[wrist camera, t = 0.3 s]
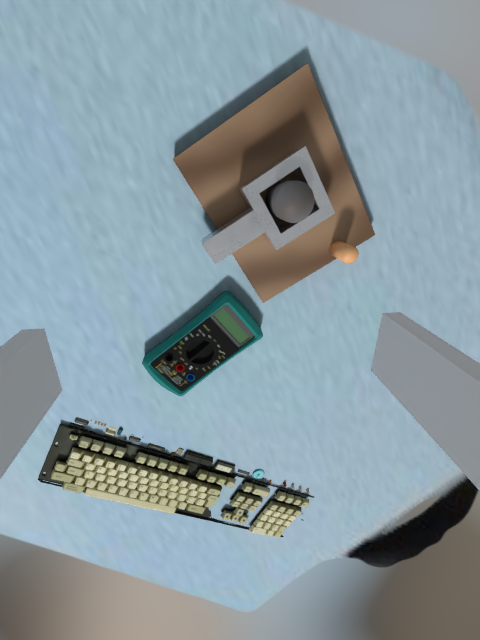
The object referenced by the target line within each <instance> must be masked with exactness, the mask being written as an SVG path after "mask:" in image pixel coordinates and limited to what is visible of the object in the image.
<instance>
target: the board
mask: <svg viewBox="0 0 480 640" xmlns="http://www.w3.org/2000/svg"><path fill="white" fill-rule="evenodd" d="M304 146H306V148H307V150H308V153H309V155H310V157H311V159H312V162H313V164H314V166H315V168H316V171H317V173H318V175H319V178H320V180H321V182H322V184H323V187H324V189H325V191H326V193H327V196H328V198H329V200H330V203H331V205H332V207H333V209H334V212H335V214H333V215H332V216H330V217H329V218H327V219H325V220H324V221H322V222H321V223H319V224H317V225H316V226H314V227H313V228H311V229H310V230H308V231H306V232H305V233H303V234H302V235H300V236H298V237H297V238H295V239H294V240H292V241H290V242H289V243H287V244H286V245H284V246H283V247H281V248H279V249H278V250H275V249H274V248H273V247H272V246H271V245H270V244H269V242H268V240H267V238H266V236H265V235H264V233H263V234H261V235H260V236H258V237H257V238H255V239H254V240H252V241H251V242H249V243H247V244H246V245H244V246H243V247H241V248H240V249H238V250H237V251H235V252H233V253H232V254H233V256H234V257H235V259H236V261H237V262H238V264H239V265H240V267H241V269H242V270H243V272H244V273H245V275H246V277H247V278H248V280H249V281H250V283H251V284H252V286H253V288H254V289H255V291H256V292H257V294H258V296H259V297H260V299H261V300H262V302H263V303H264V302H265V301H267V300H269V299H270V298H272V297H274V296H275V295H277V294H279V293H280V292H282V291H284V290H285V289H287V288H288V287H290V286H292V285H293V284H295V283H297V282H298V281H300V280H302V279H303V278H305V277H307V276H308V275H310V274H312V273H313V272H315V271H316V270H318V269H320V268H321V267H323V266H325V265H326V264H328V263H330V262H331V261H333V260H335V259H336V257H334V256H332V255H331V254H330V251H329V248H330V246H331V244H332V243H333V242H335V241H341V242H344V243H346V244H349V245H351V246H353V247H356V246H358V245H359V244H361V243H363V242H364V241H366V240H367V239H369V238H371V237H372V236H374V235H375V233H374V230H373V228H372V225H371V223H370V220H369V218H368V215H367V213H366V210H365V207H364V205H363V202H362V200H361V197H360V195H359V192H358V190H357V187H356V185H355V182H354V179H353V177H352V174H351V172H350V169H349V167H348V164H347V162H346V159H345V157H344V154H343V151H342V149H341V146H340V144H339V141H338V139H337V136H336V134H335V131H334V129H333V126H332V123H331V121H330V118H329V116H328V113H327V111H326V108H325V106H324V103H323V101H322V98H321V95H320V93H319V90H318V88H317V85H316V83H315V80H314V78H313V75H312V73H311V70H310V67H309V65H308V63H307V64H306V65H304V66H303V67H302V68H300V69H299V70H297V71H296V72H295V73H293V74H292V75H290V76H289V77H288V78H286V79H285V80H283V81H282V82H280V83H279V84H278V85H276V86H275V87H273V88H272V89H271V90H269V91H268V92H266V93H265V94H264V95H262V96H261V97H259V98H258V99H257V100H255V101H254V102H252V103H251V104H250V105H248V106H247V107H245V108H244V109H242V110H241V111H240V112H238V113H237V114H235V115H234V116H233V117H231V118H230V119H228V120H227V121H226V122H224V123H223V124H221V125H220V126H219V127H217V128H216V129H214V130H213V131H212V132H210V133H209V134H207V135H206V136H205V137H203V138H202V139H200V140H199V141H197V142H196V143H195V144H193V145H192V146H190V147H189V148H188V149H186V150H185V151H183V152H182V153H181V154H179V155H178V156H176V157H175V158H174V159H173V160H174V162H175V163H176V165H177V167H178V168H179V170H180V171H181V173H182V175H183V176H184V178H185V179H186V181H187V182H188V184H189V186H190V187H191V189H192V190H193V192H194V194H195V195H196V197H197V198H198V200H199V202H200V203H201V205H202V206H203V208H204V210H205V211H206V213H207V214H208V216H209V218H210V219H211V221H212V222H213V224H214V226H215V227H216V229H218V228H220V227H221V226H223V225H224V224H226V223H227V222H229V221H230V220H232V219H233V218H235V217H236V216H238V215H239V214H241V213H242V212H244V211H246V210H247V209H249V206H248V204H247V203H246V201H245V199H244V197H243V195H242V194H241V192H240V190H239V188H240V187H242V186H243V185H245V184H246V183H248V182H249V181H250V180H252V179H253V178H255V177H256V176H258V175H259V174H261V173H262V172H264V171H265V170H267V169H268V168H270V167H271V166H273V165H274V164H276V163H277V162H279V161H280V160H282V159H283V158H285V157H286V156H288V155H289V154H291V153H292V152H294V151H295V150H297V149H299V148H302V147H304ZM259 194H260V196H261V198H262V199H263V201H264V203H265V205H266V207H267V209H268V211H269V213H270V214H271V216H272V218H273V220H274V222H275V224H276V226H277V227H280V226H281V225H283V224H284V223H286V222H289V223H298V222H301V221H303V220H304V219H306V218H307V217H308V216H309V215H310V213H311V211H312V209H313V206H314V194H313V191H312V189H311V188H310V187H309V186H308V185H307V184H306V183H304V182H302V181H297V179H296V177H295V175H294V172H293V171H292V172H291V173H289V174H288V175H286V176H285V177H283V178H282V179H280V180H279V181H277V182H276V183H274V184H273V185H271V186H270V187H268V188H267V189H265V190H264V191H262V192H261V193H259Z"/></svg>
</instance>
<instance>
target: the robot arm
mask: <svg viewBox="0 0 480 640" xmlns="http://www.w3.org/2000/svg"><path fill="white" fill-rule="evenodd" d="M371 371H372V372H373V373H374V374H375V375H376V376H377V377H378V379H379V380H380V381H381V382H382V383H383V384H384V385H385V386H386V387H387V388H388V390H389V391H390V392H391V393H392V394H393V395H394V396H395V397H396V398H397V400H398V401H399V402H400V403H401V404H402V405H403V406H404V407H405V408H406V410H407V411H408V412H409V413H410V414H411V415H412V416H413V417H414V418H415V420H416V421H417V422H418V423H419V424H420V425H421V426H422V427H423V428H424V429H425V431H426V432H427V433H428V434H429V435H430V436H431V437H432V438H433V439H434V441H435V442H436V443H437V444H438V445H439V446H440V447H441V448H442V449H443V451H444V452H445V453H446V454H447V455H448V456H449V457H450V458H451V459H452V460H453V462H454V463H455V464H456V465H457V466H458V467H459V468H460V469H461V470H462V472H463V473H464V474H465V475H466V476H467V477H468V478H469V479H470V480H471V482H472V483H473V484H474V485H475V486H476V487H477V488H478V489H479V490H480V364H479V363H478V362H476V361H475V360H473V359H472V358H470V357H468V356H467V355H465V354H464V353H462V352H461V351H459V350H458V349H456V348H454V347H453V346H451V345H450V344H448V343H447V342H445V341H444V340H442V339H441V338H439V337H437V336H436V335H434V334H433V333H431V332H430V331H428V330H427V329H425V328H424V327H422V326H420V325H419V324H417V323H416V322H414V321H413V320H411V319H410V318H408V317H407V316H405V315H403V314H402V313H400V312H397V313H382V318H381V323H380V328H379V333H378V338H377V343H376V348H375V353H374V358H373V362H372V367H371ZM61 391H62V387H61V384H60V381H59V377H58V374H57V370H56V367H55V364H54V360H53V357H52V353H51V350H50V347H49V343H48V340H47V336H46V333H45V330H44V329H28V330H21V331H20V332H19V333H17V334H16V335H15V336H14V337H12V338H11V339H10V340H9V341H7V342H6V343H5V344H3V345H2V346H1V347H0V479H1V477H2V476H3V475H4V473H5V472H6V470H7V469H8V467H9V466H10V464H11V463H12V462H13V460H14V459H15V457H16V456H17V454H18V453H19V452H20V450H21V449H22V447H23V446H24V444H25V443H26V442H27V440H28V439H29V437H30V436H31V434H32V433H33V431H34V430H35V429H36V427H37V426H38V424H39V423H40V421H41V420H42V419H43V417H44V416H45V414H46V413H47V411H48V410H49V409H50V407H51V406H52V404H53V403H54V401H55V400H56V398H57V397H58V396H59V394H60V393H61Z"/></svg>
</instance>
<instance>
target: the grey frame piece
mask: <svg viewBox="0 0 480 640" xmlns="http://www.w3.org/2000/svg"><path fill="white" fill-rule="evenodd" d="M292 171H293V172H294V175H295V177H296V179H297V181H302V182H304V183H306V184H307V185H308V186H309V187H310V188H311V189H312V191H313V194H314V206H313V209H312V211H311V213H310V215H309V216H308V217H307V218H306V219H304V220H303V221H301V222H298V223H289V222H286V223H284V224H283V225H281V226H280V227H277V226H276V224H275V222H274V220H273V218H272V216H271V214H270V213H269V211H268V209H267V207H266V205H265V203H264V201H263V199H262V198H261V196H260V194H259V193H261V192H262V191H264V190H265V189H267V188H268V187H270V186H271V185H273V184H274V183H276V182H277V181H279V180H280V179H282V178H283V177H285V176H286V175H288V174H289V173H291V172H292ZM239 190H240V192H241V194H242V195H243V197H244V199H245V201H246V203H247V204H248V206H249V209H247V210H246V211H244V212H242V213H241V214H239V215H238V216H236V217H235V218H233V219H232V220H230V221H229V222H227V223H226V224H224V225H223V226H221V227H220V228H218V229H217V230H215V231H214V232H212V233H211V234H209V235H208V236H206V237H205V238H203V239H202V245H203V246H204V248H205V249H206V251H207V252H208V254H209V255H210V257H211V258H212V260H213V261H214V263H215V264H216V263H218V262H219V261H221V260H223V259H224V258H226V257H227V256H229V255H230V254H232V253H233V252H235V251H237V250H238V249H240V248H241V247H243V246H244V245H246V244H247V243H249V242H251V241H252V240H254V239H255V238H257V237H258V236H260V235H261V234H263V233H264V235H265V236H266V238H267V240H268V242H269V244H270V245H271V246H272V247H273V248H274V249H275V250H278V249H279V248H281V247H283V246H284V245H286V244H287V243H289V242H290V241H292V240H294V239H295V238H297V237H298V236H300V235H302V234H303V233H305V232H306V231H308V230H310V229H311V228H313V227H314V226H316V225H317V224H319V223H321V222H322V221H324V220H325V219H327V218H329V217H330V216H332V215H333V214H335V212H334V209H333V207H332V205H331V203H330V200H329V198H328V196H327V193H326V191H325V189H324V187H323V184H322V182H321V180H320V178H319V175H318V173H317V171H316V168H315V166H314V164H313V162H312V159H311V157H310V155H309V153H308V150H307V148H306V146H304V147H302V148H299V149H297V150H295V151H294V152H292V153H291V154H289V155H288V156H286V157H285V158H283V159H282V160H280V161H279V162H277V163H276V164H274V165H273V166H271V167H270V168H268V169H267V170H265V171H264V172H262V173H261V174H259V175H258V176H256V177H255V178H253V179H252V180H250V181H249V182H248V183H246V184H245V185H243V186H242V187H240V188H239Z"/></svg>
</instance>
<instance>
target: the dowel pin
mask: <svg viewBox="0 0 480 640" xmlns="http://www.w3.org/2000/svg"><path fill="white" fill-rule="evenodd" d="M329 251H330V254H331V255H332V256H334V257H336V258H338V259H340V260H341V261H343V262H345V263H348V264H350V263H353V262H354V261H356V259H357V258H358V254H359V253H358V250H357V248H356V247H353V246H351V245H349V244H346V243H344V242H341V241H335V242H333V243H332V244H331V246H330V248H329Z"/></svg>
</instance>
